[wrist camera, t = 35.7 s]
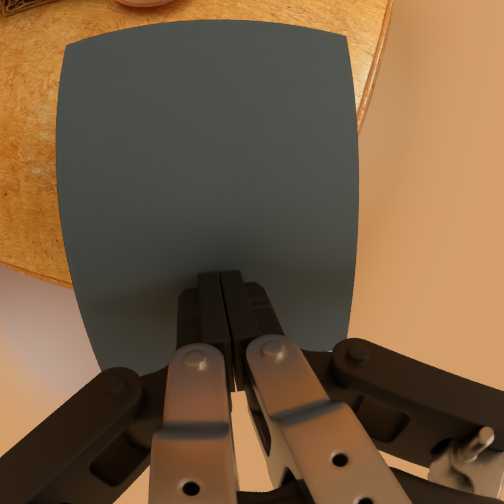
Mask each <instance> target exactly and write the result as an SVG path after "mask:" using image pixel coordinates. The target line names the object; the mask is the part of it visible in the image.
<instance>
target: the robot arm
mask: <svg viewBox="0 0 504 504" xmlns="http://www.w3.org/2000/svg"><path fill="white" fill-rule="evenodd" d="M219 279H220V281H219ZM177 317H178V318H177V341H176V352H174V354H173V355H172V356H171V358H170V362H169V364H168V365H167V366H165V367H164V368H162V369H160V370H158V371H156V372H153V373H150V374H146V375H143V376H140V377H139V375H138V374H137V373H136V372H135V371H133V370H132V369H129V368H126V367H112V368H109V369H106V370H104V371H102V372H101V373H99V374H98V375H97V376H96V377H95V378H93V379H92V380H91V381H90V382H89V383H88V384H86V385H85V386H84V387H83V388H82V389H80V390H79V391H78V392H77V393H76V394H74V395H73V396H72V397H71V398H70V399H69V400H67V401H66V402H65V403H64V404H63V405H62V406H60V407H59V408H58V409H57V410H56V411H54V413H52V414H51V415H50V416H49V417H47V418H46V419H45V420H44V421H43V422H42V423H40V424H39V425H38V426H37V427H36V428H34V429H33V430H32V431H31V432H30V433H29V434H27V435H26V436H25V437H24V438H23V439H21V440H20V441H19V442H18V443H17V444H16V445H15V446H14V447H12V448H11V449H10V450H9V451H7V452H6V453H5V454H4V455H3V456H2V457H1V458H0V504H113V503H114V502H115V501H116V500H117V499H118V498H119V497H120V495H122V494H123V493H124V492H125V491H126V489H128V487H129V486H130V485H131V484H132V483H133V482H134V481H135V480H136V479H137V478H138V477H139V476H140V475H141V474H142V473H143V472H144V470H145V469H146V468H147V467H148V466H149V465H150V475H149V476H150V477H149V499H148V500H149V501H148V502H149V503H148V504H504V501H502V500H500V499H499V498H500V495H501V491H502V488H503V483H504V391H501V390H498V389H495V388H492V387H489V386H486V385H483V384H480V383H477V382H474V381H471V380H469V379H466V378H463V377H460V376H457V375H455V374H452V373H449V372H446V371H444V370H441V369H438V368H436V367H433V366H430V365H428V364H425V363H422V362H419V361H417V360H414V359H412V358H409V357H407V356H404V355H401V354H399V353H397V352H394V351H391V350H389V349H387V348H384V347H382V346H379V345H377V344H374V343H371V342H369V341H367V340H364V339H359V338H349V339H344V340H342V341H340V342H338V343H337V344H336V345H335V346H334V348H333V351H332V352H320V351H308V350H304V349H301V348H299V346H298V345H297V344H296V343H295V342H294V341H293V340H292V339H290V338H288V337H286V336H285V334H284V332H283V329H282V327H281V325H280V323H279V320H278V318H277V316H276V314H275V311H274V309H273V307H272V305H271V302H270V300H269V298H268V295H267V293H266V291H265V289H264V288H263V287H262V286H261V285H259V284H258V283H257V282H246V283H244V282H243V279H242V275H241V272H240V270H229V271H219V276H218V272H209V273H199V274H198V287H197V288H186V289H184V290H183V291H182V293H181V294H180V296H179V297H178V311H177ZM234 378H235V382H236V386H237V391H244V390H245V393H246V397H247V401H248V412H249V415H250V418H251V421H252V424H253V427H254V429H255V432H256V435H257V438H258V440H259V443H260V446H261V449H262V452H263V454H264V457H265V460H266V463H267V468H268V473H269V476H270V479H271V482H272V485H273V487H274V490H272V491H269V492H245V491H240V487H239V479H238V472H237V465H236V457H235V448H234V439H233V430H232V419H231V412H232V401H231V392H235V384H234ZM377 449H378V450H380V451H383V452H385V453H388V454H390V455H393V456H395V457H398V458H401V459H403V460H406V461H409V462H411V463H414V464H417V465H420V466H423V467H427V468H429V469H430V472H429V473H428V480H429V481H428V480H426V479H423V478H420V477H417V476H414V475H412V474H409V473H407V472H404V471H402V470H399V469H396V468H393V467H389V466H388V465H387V464H386V462H385V460H384V459H383V457H382V456H381V454H380V453H379V451H378V450H377Z"/></svg>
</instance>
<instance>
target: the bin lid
mask: <svg viewBox="0 0 504 504" xmlns="http://www.w3.org/2000/svg"><path fill="white" fill-rule="evenodd" d="M56 177H57V192H58V203H59V212H60V220H61V227H62V234H63V240H64V246H65V251H66V257H67V262H68V266H69V271H70V275H71V280H72V284H73V288H74V292H75V295H76V299H77V302H78V306H79V310H80V313H81V316H82V320H83V323H84V326H85V329H86V332H87V335H88V338H89V340H90V343H91V346H92V349H93V351H94V354H95V357H96V359H97V362H98V364H99V367H100V369H101V372H102V371H104V370H106V369H109V368H112V367H126V368H129V369H132V370H133V371H135V372H136V373H137V374H138V375H139V376H143V375H146V374H150V373H153V372H156V371H158V370H160V369H162V368H164V367H165V366H167V365H168V364H169V362H170V358H171V356H172V355H173V354H174V352H176V341H177V318H178V317H177V311H178V297H179V296H180V294H181V293H182V291H183V290H184V289H186V288H197V287H198V274H199V273H209V272H218V276H219V271H229V270H240V272H241V275H242V279H243V282H244V283H246V282H257V283H258V284H259V285H261V286H262V287H263V288H264V289H265V291H266V293H267V295H268V298H269V300H270V302H271V305H272V307H273V309H274V311H275V314H276V316H277V318H278V320H279V323H280V325H281V327H282V329H283V332H284V334H285V336H286V337H288V338H290V339H292V340H293V341H294V342H295V343H296V344H297V345H298V346H299V348H301V349H304V350H308V351H320V352H327V351H331V350H333V348H334V346H335V345H336V344H337V343H338V342H340V341H342V340H344V339H347V333H348V327H349V320H350V312H351V304H352V296H353V287H354V277H355V266H356V253H357V237H358V213H359V212H358V211H359V158H358V133H357V118H356V106H355V95H354V86H353V77H352V70H351V63H350V56H349V49H348V44H347V38H346V36H343V35H340V34H335V33H331V32H327V31H322V30H317V29H312V28H307V27H301V26H295V25H288V24H281V23H272V22H262V21H249V20H191V21H177V22H167V23H159V24H151V25H145V26H139V27H133V28H128V29H123V30H118V31H114V32H109V33H105V34H101V35H98V36H94V37H90V38H87V39H84V40H80V41H77V42H74V43H71V44H68V45H66V48H65V53H64V59H63V64H62V70H61V77H60V85H59V93H58V104H57V118H56ZM219 281H220V279H219Z"/></svg>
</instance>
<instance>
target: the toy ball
mask: <svg viewBox="0 0 504 504" xmlns="http://www.w3.org/2000/svg"><path fill="white" fill-rule="evenodd" d="M116 1H118V2H120V3H122V4H125V5H128V6H133V7H153V6H158V5H162V4H166V3H169V2H171V1H173V0H116Z"/></svg>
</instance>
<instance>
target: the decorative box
mask: <svg viewBox="0 0 504 504" xmlns="http://www.w3.org/2000/svg"><path fill="white" fill-rule="evenodd" d="M53 1H57V0H0V7H1V11H2V14H3V16H4V17H7V16H9V15H12V14H15V13H17V12H20V11H23V10H26V9H29V8H32V7H35V6H38V5H42V4H45V3H49V2H53Z"/></svg>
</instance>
